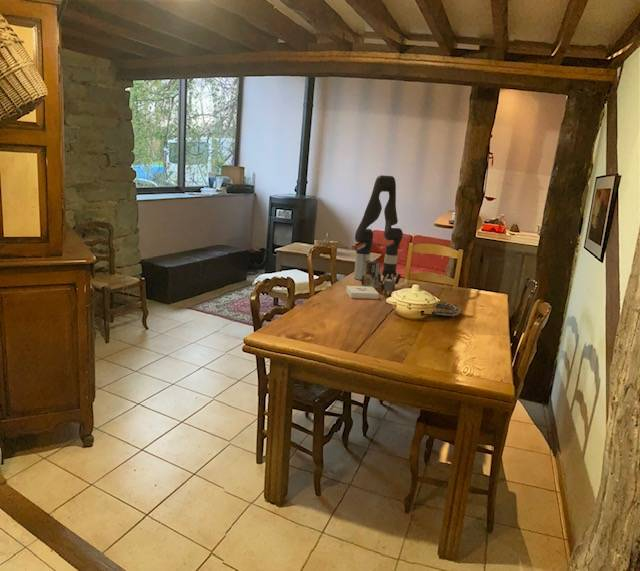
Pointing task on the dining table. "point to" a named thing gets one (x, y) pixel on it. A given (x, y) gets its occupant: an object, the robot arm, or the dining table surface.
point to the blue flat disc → (446, 310)
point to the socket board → (362, 292)
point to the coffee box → (370, 273)
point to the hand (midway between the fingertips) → (387, 290)
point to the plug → (388, 287)
